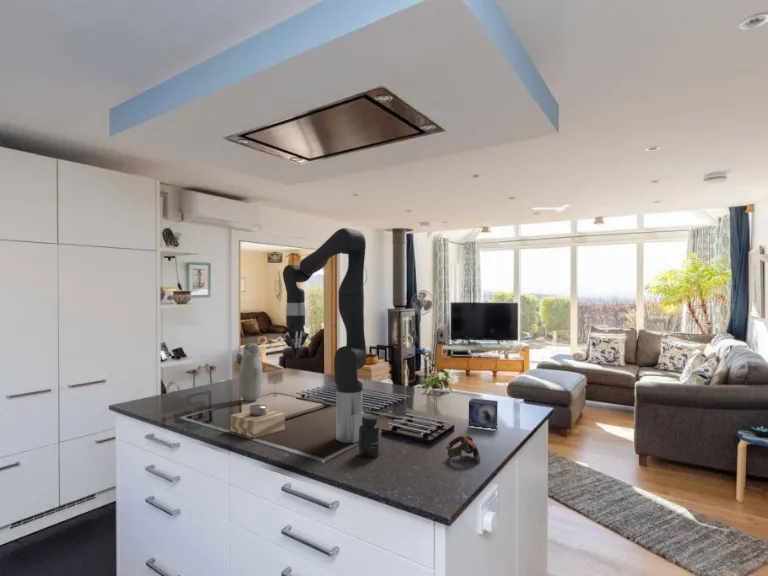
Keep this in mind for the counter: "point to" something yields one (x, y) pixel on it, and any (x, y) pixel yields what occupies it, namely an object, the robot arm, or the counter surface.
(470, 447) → the brown curved band
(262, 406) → the steel pin
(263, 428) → the oak block
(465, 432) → the counter surface
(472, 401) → the small box
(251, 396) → the grey bottle
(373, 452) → the supplement bottle
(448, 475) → the counter surface
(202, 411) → the counter surface
